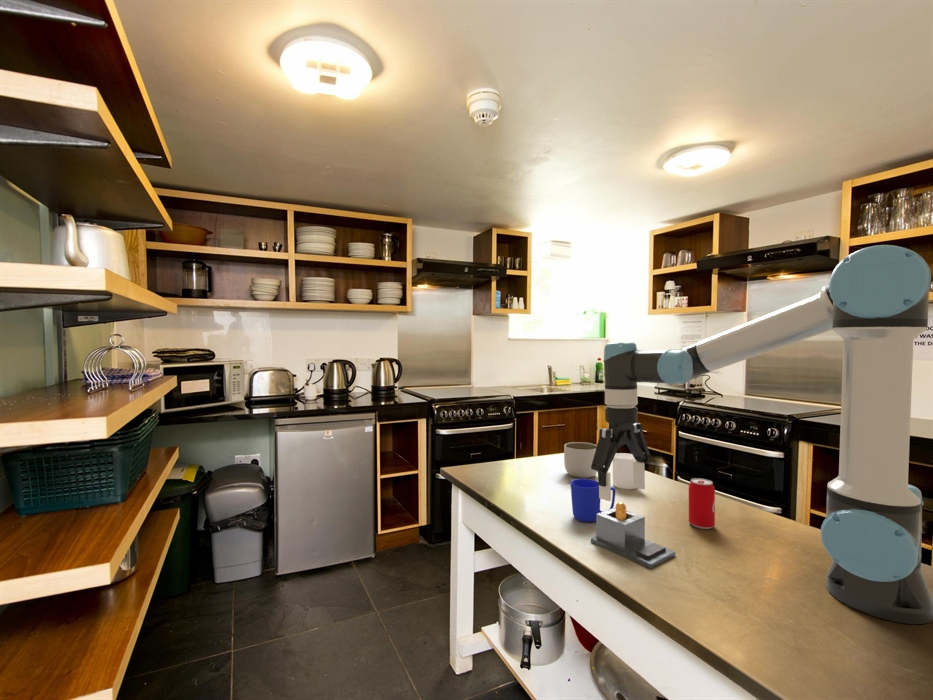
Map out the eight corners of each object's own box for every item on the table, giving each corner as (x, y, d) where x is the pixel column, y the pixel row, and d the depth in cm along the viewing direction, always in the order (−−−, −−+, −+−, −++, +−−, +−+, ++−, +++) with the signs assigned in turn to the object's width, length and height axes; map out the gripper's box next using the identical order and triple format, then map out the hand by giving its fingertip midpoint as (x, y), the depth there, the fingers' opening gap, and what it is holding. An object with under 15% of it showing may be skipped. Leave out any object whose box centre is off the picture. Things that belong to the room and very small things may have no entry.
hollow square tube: (644, 541, 108) (644, 516, 108) (624, 550, 103) (624, 524, 103) (616, 530, 114) (616, 507, 114) (596, 538, 110) (596, 514, 110)
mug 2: (652, 490, 147) (652, 459, 147) (634, 494, 144) (634, 463, 144) (625, 480, 158) (625, 452, 158) (607, 484, 154) (607, 454, 154)
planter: (557, 475, 165) (557, 445, 165) (576, 468, 174) (576, 440, 174) (586, 482, 156) (586, 451, 156) (605, 475, 165) (605, 445, 165)
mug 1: (617, 526, 119) (617, 489, 119) (570, 523, 121) (570, 486, 121) (613, 515, 127) (613, 480, 127) (570, 512, 129) (570, 477, 129)
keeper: (675, 555, 103) (675, 511, 102) (650, 568, 97) (650, 522, 97) (615, 532, 116) (616, 492, 115) (590, 542, 110) (590, 501, 110)
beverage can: (717, 525, 120) (717, 480, 119) (711, 532, 115) (711, 486, 115) (692, 519, 124) (692, 476, 124) (685, 525, 119) (685, 481, 119)
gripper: (637, 400, 118) (638, 480, 118) (574, 409, 104) (576, 500, 104) (663, 402, 112) (665, 487, 112) (601, 412, 98) (603, 509, 98)
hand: (622, 493), depth 108 cm, fingers open, 13 cm apart
